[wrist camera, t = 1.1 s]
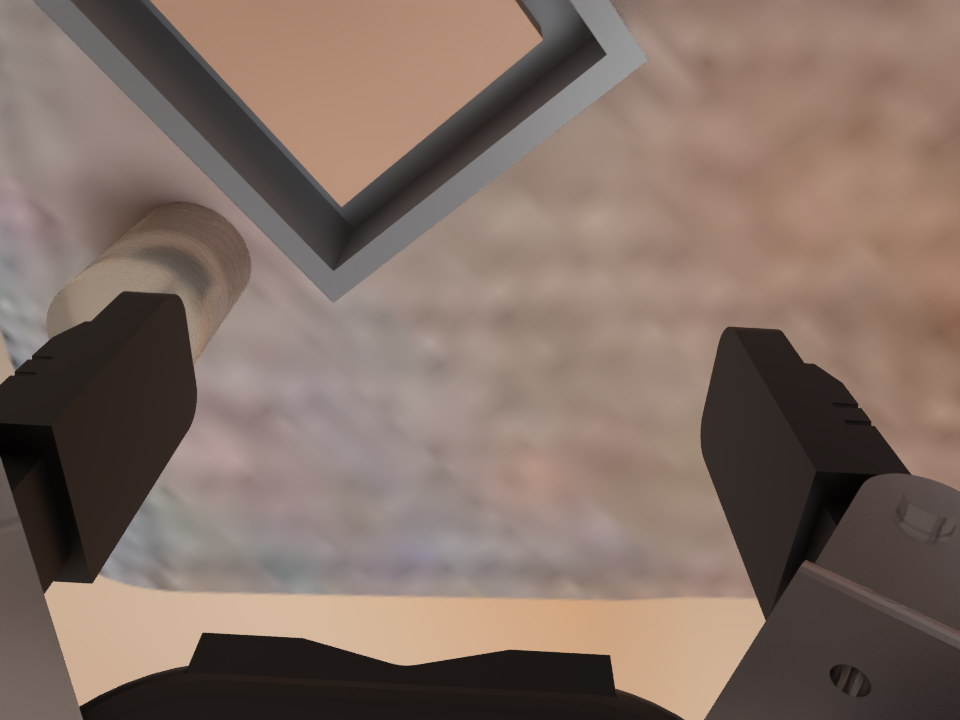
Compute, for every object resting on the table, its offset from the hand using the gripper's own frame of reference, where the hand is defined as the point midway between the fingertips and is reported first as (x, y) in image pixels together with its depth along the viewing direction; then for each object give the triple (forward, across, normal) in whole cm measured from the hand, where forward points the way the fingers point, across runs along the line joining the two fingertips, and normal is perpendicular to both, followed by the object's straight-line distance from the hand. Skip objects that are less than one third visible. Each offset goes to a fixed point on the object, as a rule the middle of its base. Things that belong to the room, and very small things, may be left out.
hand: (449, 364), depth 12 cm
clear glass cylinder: (+24, +13, +9) cm, 29 cm away
